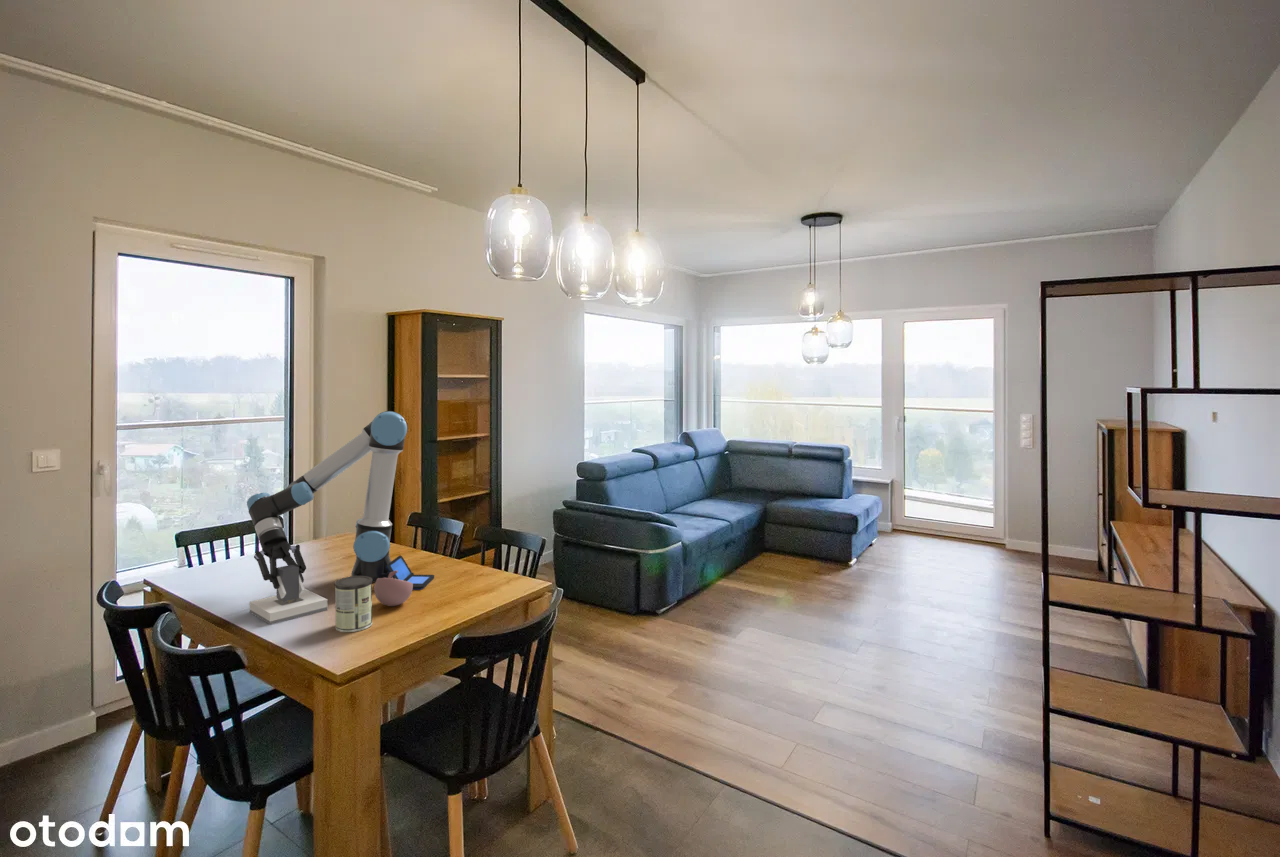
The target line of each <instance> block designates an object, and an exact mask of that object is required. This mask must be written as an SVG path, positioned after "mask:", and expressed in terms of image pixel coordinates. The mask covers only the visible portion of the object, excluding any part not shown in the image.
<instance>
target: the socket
mask: <svg viewBox="0 0 1280 857" xmlns="http://www.w3.org/2000/svg"><path fill="white" fill-rule="evenodd" d="M325 611H328V598H325V597H323V596H321V595H319V594H317V593H314V592H313V591H311V590H309V589H307V588H304V591H303V593H302V594H299V598H297V599H292V600H291V602H290V603H289V602H288V601H284V602H283V601H282V602H280V600H279V599H277V594H276V595H274V596H269V597H265V598H264V597H263V598H259V599H256V600H251V601H249V613H250V614H252V615H253V616H255V617H256V618H258V619H260V620H262V621H263V622H265V623H266V624H269V625H271V626H272V625H275V624H278V623H282V622H286V621H290V620H293V619H298V618H300V617H301V618H302V617H305V616H309V615H313V614H316V613H321V612H325Z"/></svg>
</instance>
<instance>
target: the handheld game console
mask: <svg viewBox="0 0 1280 857" xmlns="http://www.w3.org/2000/svg"><path fill="white" fill-rule="evenodd" d="M387 569H388V571H389V572H393V571H395V570H397V571H398V572H397V573H396V574H394V575H393V576H392V579H399V580H404V581H408V582H411V583H413V589H412V591H413V590H416V591H417V590H423V589H425V588H426V587H427V586H428V585H429V584H430V583H431V582H432V580H434V579H435V575H434V574H415V573H414V572H412V570H411V568H410V567H409V566H408V564H407V562H406V560H405V559H404V557H403V555H399V556H397V557H395V558H394V559H392V560H391V562H390V563H389V564H387Z"/></svg>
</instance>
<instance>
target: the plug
mask: <svg viewBox="0 0 1280 857" xmlns="http://www.w3.org/2000/svg"><path fill="white" fill-rule="evenodd" d="M278 576H280V578H281V580H282V583H283V586H284V589H285V591H286V595H285V596H284V598H281V597H280V594H279V591H278V589H276V595H277V599H279V600H280V602H282V601H283V602H284V601H288V602H289V603H290V602H291V600H292V599H297V598H299V567H297V566H294V565H284V566H279V567H277V577H278Z"/></svg>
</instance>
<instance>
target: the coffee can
mask: <svg viewBox="0 0 1280 857" xmlns="http://www.w3.org/2000/svg"><path fill="white" fill-rule="evenodd" d="M372 583H373V582H372V578H371V577H368V576H352V577H351V576H346V577H343V578H340V579H337V580H335V582H334V589H335V593H334V594H335V595H334V596H335V597H334V598H335V599H334V601H335V604H334V605H335V630H336V631H337V632H339V633H355V632H360V631H363V630H367V629H369V628H370V627H371V626H372V625H373V606H372V605H373V593H372V592H373V590H372V589H373V584H372Z"/></svg>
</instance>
